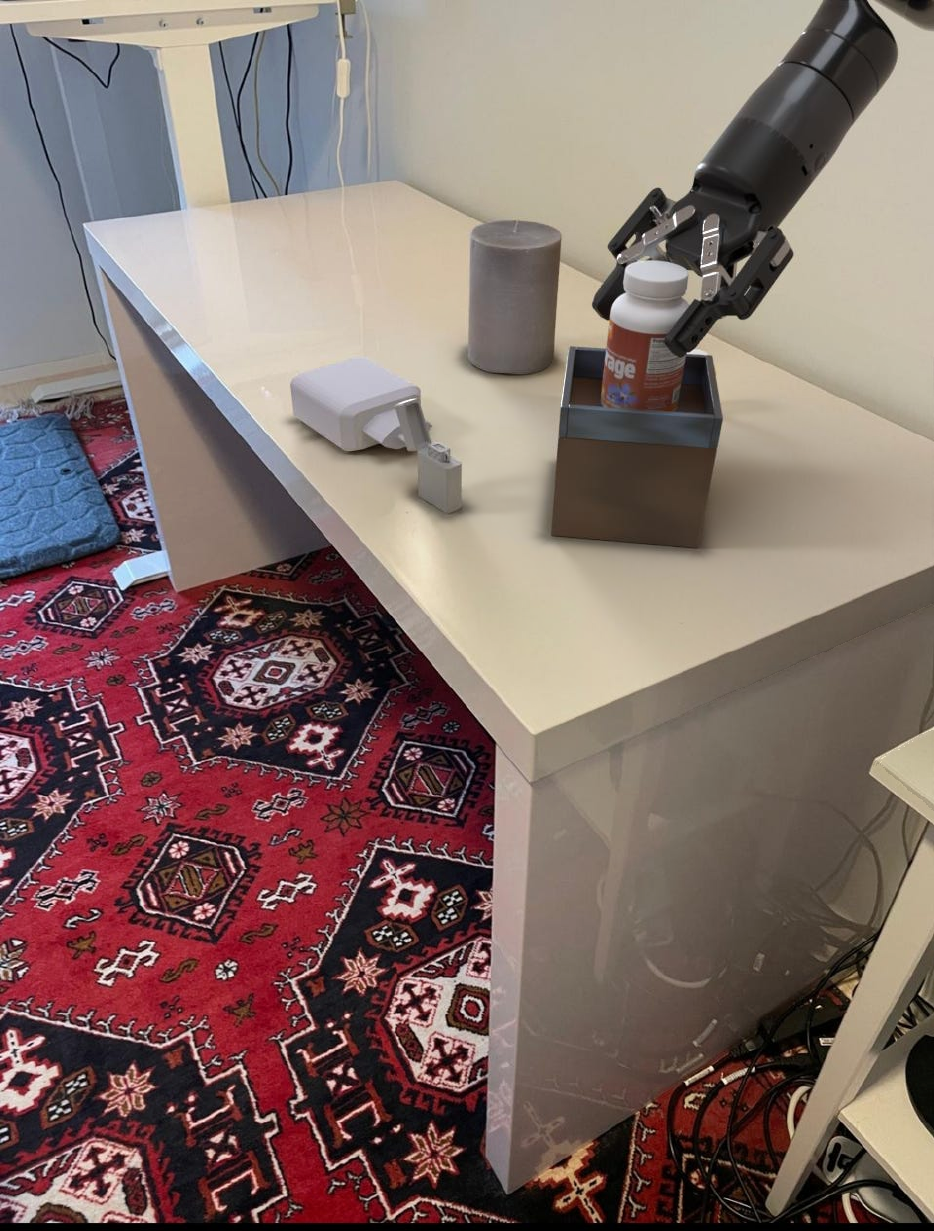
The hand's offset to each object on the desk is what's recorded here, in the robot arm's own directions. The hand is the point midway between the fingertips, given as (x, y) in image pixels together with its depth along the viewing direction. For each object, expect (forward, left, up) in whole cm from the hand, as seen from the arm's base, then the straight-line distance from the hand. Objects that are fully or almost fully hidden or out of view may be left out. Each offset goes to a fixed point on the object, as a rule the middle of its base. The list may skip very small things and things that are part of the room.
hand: (634, 331), depth 73 cm
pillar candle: (+12, -31, -16) cm, 37 cm away
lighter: (+16, 0, -16) cm, 23 cm away
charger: (+23, -10, -16) cm, 30 cm away
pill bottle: (-1, -1, -7) cm, 7 cm away
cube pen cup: (-1, -1, -16) cm, 16 cm away
